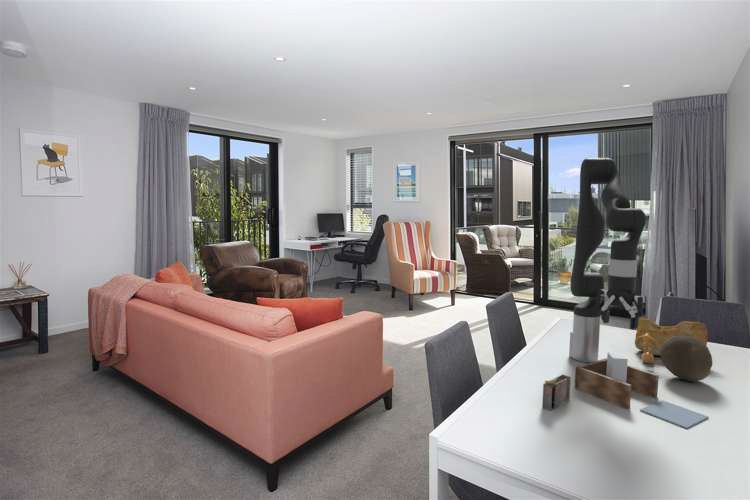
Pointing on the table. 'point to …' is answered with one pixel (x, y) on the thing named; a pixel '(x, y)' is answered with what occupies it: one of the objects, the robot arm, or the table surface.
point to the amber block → (667, 333)
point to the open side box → (614, 383)
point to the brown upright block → (556, 391)
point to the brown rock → (686, 358)
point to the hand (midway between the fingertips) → (619, 325)
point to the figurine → (645, 356)
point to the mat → (674, 414)
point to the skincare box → (616, 366)
